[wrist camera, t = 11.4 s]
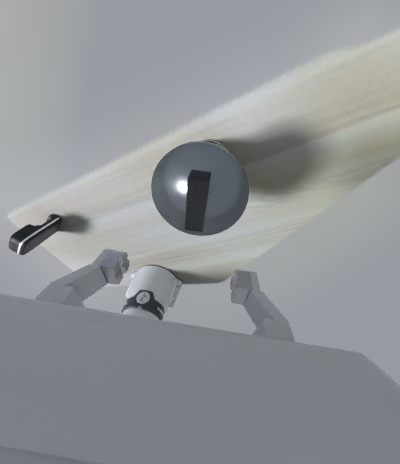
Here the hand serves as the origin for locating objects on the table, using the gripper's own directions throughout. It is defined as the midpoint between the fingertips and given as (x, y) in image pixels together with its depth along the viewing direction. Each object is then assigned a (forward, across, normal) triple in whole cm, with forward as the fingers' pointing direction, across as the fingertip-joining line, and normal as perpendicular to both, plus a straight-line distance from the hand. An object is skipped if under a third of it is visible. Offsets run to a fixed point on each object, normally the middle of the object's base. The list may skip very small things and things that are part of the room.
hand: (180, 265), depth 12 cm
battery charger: (+28, -43, -21) cm, 55 cm away
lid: (+13, 0, 0) cm, 13 cm away
